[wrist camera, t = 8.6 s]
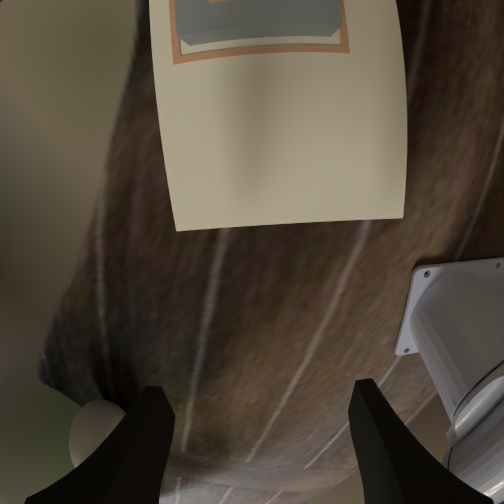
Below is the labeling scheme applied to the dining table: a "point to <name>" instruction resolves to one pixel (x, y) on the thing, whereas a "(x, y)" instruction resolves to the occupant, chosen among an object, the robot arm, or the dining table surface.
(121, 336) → the dining table surface
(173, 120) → the white flat sheet
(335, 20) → the slate slab
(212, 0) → the maple block
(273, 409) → the dining table surface
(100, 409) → the donut
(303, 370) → the dining table surface
